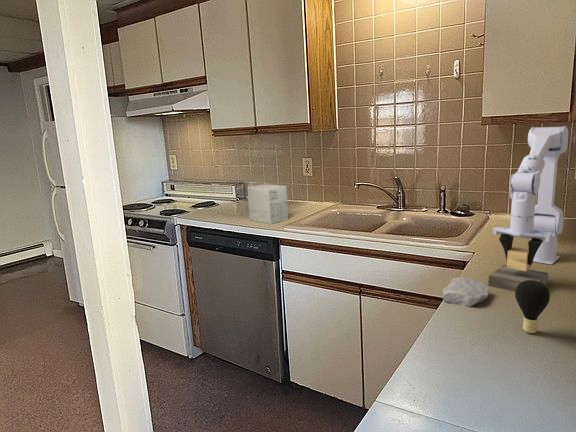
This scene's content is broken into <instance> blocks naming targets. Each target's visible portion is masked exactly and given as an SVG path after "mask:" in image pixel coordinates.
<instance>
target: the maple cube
mask: <svg viewBox="0 0 576 432" xmlns="http://www.w3.org/2000/svg"><path fill="white" fill-rule="evenodd" d="M528 255H529V248H523V247H516V246H512V248H511V249H510V250H508V254H507V261H506V265H507V268H511V269H516V270H521V271H527V270H528V269H530V268H532V266H533V265H532V264H533V263H532V264H531V265H528Z"/></svg>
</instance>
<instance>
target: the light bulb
mask: <svg viewBox="0 0 576 432" xmlns="http://www.w3.org/2000/svg"><path fill="white" fill-rule="evenodd" d="M514 296H515V301H516V302H517V304H518V307H519V308H520V311H521V312H522V313H523V323H522V324H523V325H522V329H523V331H524V332H526V333H528V334H535V333H537V330H538V326H537V325H538V317H539V316H540V315H541V314H542V313H543V312H544V311H545V309H546V308H547V306H548V305H549V303H550V299H551V293H550V289H549V287H547V285H544V284H543V283H541V282H539V281H535V280H526V281H523V282H521V283H520V284H519V285H518V286H517V288H516V291H514Z"/></svg>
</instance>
